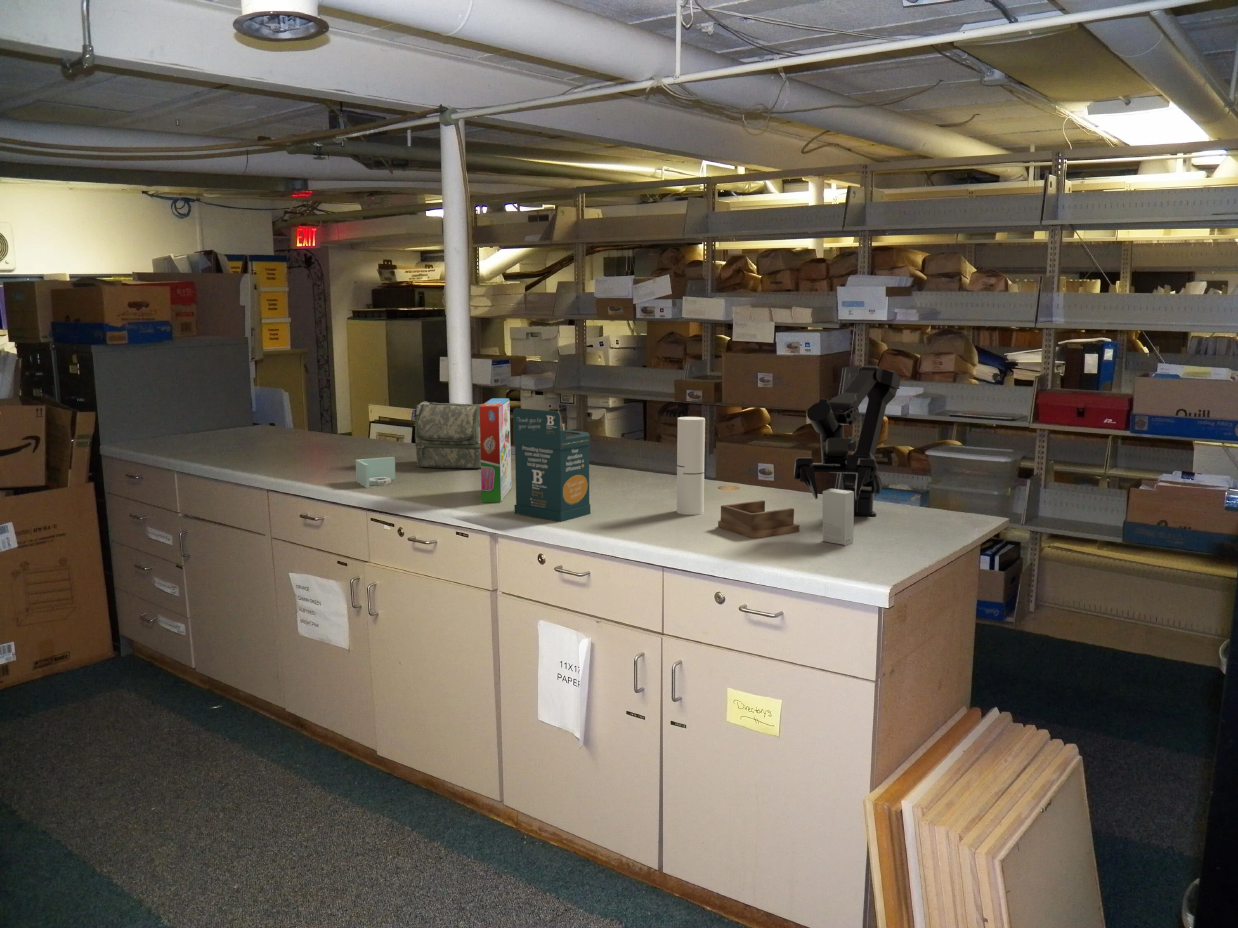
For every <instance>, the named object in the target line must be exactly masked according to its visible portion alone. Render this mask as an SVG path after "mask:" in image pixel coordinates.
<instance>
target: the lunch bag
mask: <svg viewBox="0 0 1238 928" xmlns="http://www.w3.org/2000/svg"><path fill="white" fill-rule="evenodd" d="M482 404H483V403H481V404H480V403H477V404H472V403H471V404H469V403H455V402H449V403H447V402H445V403H439V402H428V401H426V400H425V401H422V402H420V403H419V404H416V405H415V409H412V410H411V411H412V412H411V417H410V421H411V422H412V421H413V422H414V426H415V427H414V440H415V442H414V443H415V444H414V445H415V451H416V452H415V453H416V462H417V463H416V466H417V467H419V468H434V469H437V468H438V469H461V470H464V469H468V470H469V469H471V470H472V469H475V470H476V469H478V470H479V469H481V448H480V410H479V407H480V406H481V405H482Z"/></svg>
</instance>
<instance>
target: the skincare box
mask: <svg viewBox="0 0 1238 928" xmlns="http://www.w3.org/2000/svg"><path fill="white" fill-rule="evenodd" d="M854 516H855V515H854V492H853V491H851V490H844V489H838V488H828V489H826V490H825V489H824V490H823V491H822V541H823V542H826V543H831V544H837V545H844V546H846V545H847V546H848V545H849V544H852V543H854V528H855V527H854V522H855V521H854Z"/></svg>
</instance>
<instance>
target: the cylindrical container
mask: <svg viewBox="0 0 1238 928" xmlns="http://www.w3.org/2000/svg"><path fill="white" fill-rule="evenodd" d="M676 432H677V439H676V441H677V443H676V444H677V445H676V446H677V447H676V449H677V451H676V453H677V454H676V459H677V460H676V513H677V514H680V515H684V516H695V515H696V516H697V515H701V514H702V515H703V514H704V513H705V512H704V510H705V507H704V506H705V499H704V498H705V454H706V453H705V451H706V450H705V449H706V448H705V442H706V441H705V439H706V418H705V417H701V416H680V417H677V431H676Z"/></svg>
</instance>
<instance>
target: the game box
mask: <svg viewBox="0 0 1238 928" xmlns="http://www.w3.org/2000/svg"><path fill="white" fill-rule="evenodd" d="M481 404H482V405H481V406H480V407H479V410H480V448H481V468H480V476H481V478H480V479H481V480H480V481H481V484H480V485H481V503H492V504H493V503H497V504H498V503H501V502H502V501H503V500H504V498H505V497H506V496H507V494H508V493H509V491H510V490H511V488H512V461H511V460H512V457H511V456H512V454H511V453H512V451H511V450H512V449H511V419H510V418H511V416H510V415H511V413H510V412H511V411H510V410H511V408H510V398H503V397H501V398H496V397H495V398H493V397H492V398H490V399H489V400H487V401H486V402H484V403H481Z"/></svg>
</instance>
